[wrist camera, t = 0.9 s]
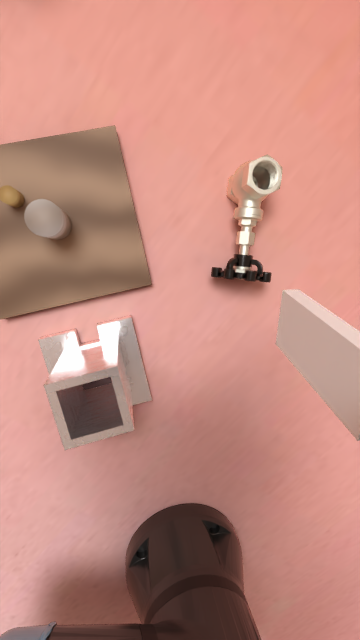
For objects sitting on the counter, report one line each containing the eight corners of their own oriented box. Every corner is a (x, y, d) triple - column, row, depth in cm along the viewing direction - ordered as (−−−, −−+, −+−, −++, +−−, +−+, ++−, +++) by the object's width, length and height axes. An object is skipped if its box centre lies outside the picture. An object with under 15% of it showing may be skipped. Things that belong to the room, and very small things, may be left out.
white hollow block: (150, 395, 41) (162, 443, 30) (66, 418, 40) (47, 477, 29) (130, 315, 39) (135, 337, 28) (41, 336, 37) (10, 368, 27)
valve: (214, 165, 38) (203, 275, 40) (234, 146, 31) (219, 278, 33) (270, 173, 39) (257, 279, 41) (300, 157, 32) (283, 283, 34)
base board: (150, 283, 38) (157, 289, 31) (4, 317, 36) (-24, 332, 29) (115, 130, 35) (114, 98, 28) (-49, 158, 33) (-96, 131, 26)
